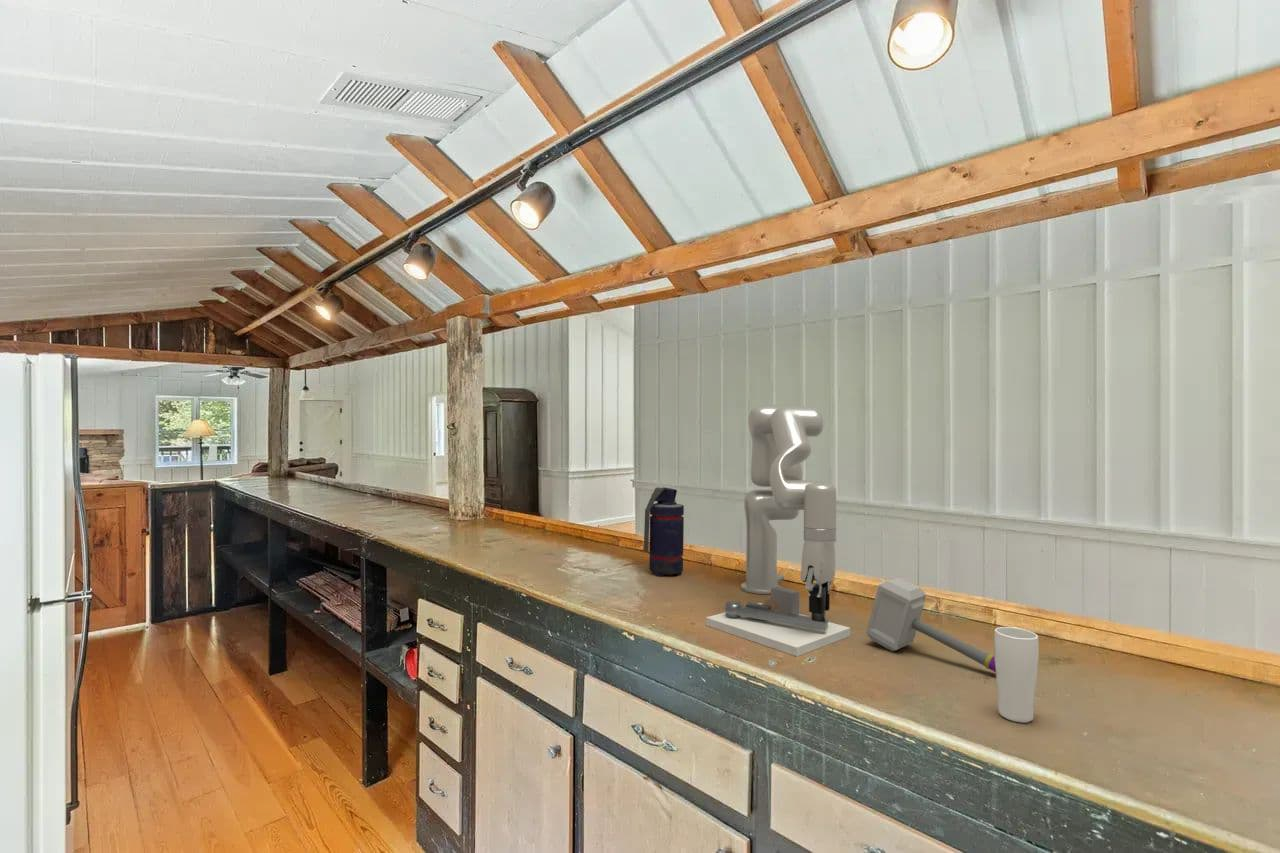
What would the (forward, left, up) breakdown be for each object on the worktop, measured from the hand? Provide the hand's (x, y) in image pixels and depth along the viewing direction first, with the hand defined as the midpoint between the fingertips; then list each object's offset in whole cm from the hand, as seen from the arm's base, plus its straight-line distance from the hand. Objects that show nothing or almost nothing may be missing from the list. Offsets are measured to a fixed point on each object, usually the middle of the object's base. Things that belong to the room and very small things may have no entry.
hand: (819, 610), depth 148 cm
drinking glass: (+7, +45, -8) cm, 46 cm away
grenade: (-17, -74, -8) cm, 76 cm away
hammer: (-10, +24, -8) cm, 27 cm away
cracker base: (+2, -11, -7) cm, 13 cm away
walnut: (-1, -15, -5) cm, 16 cm away
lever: (+3, -11, -5) cm, 12 cm away
